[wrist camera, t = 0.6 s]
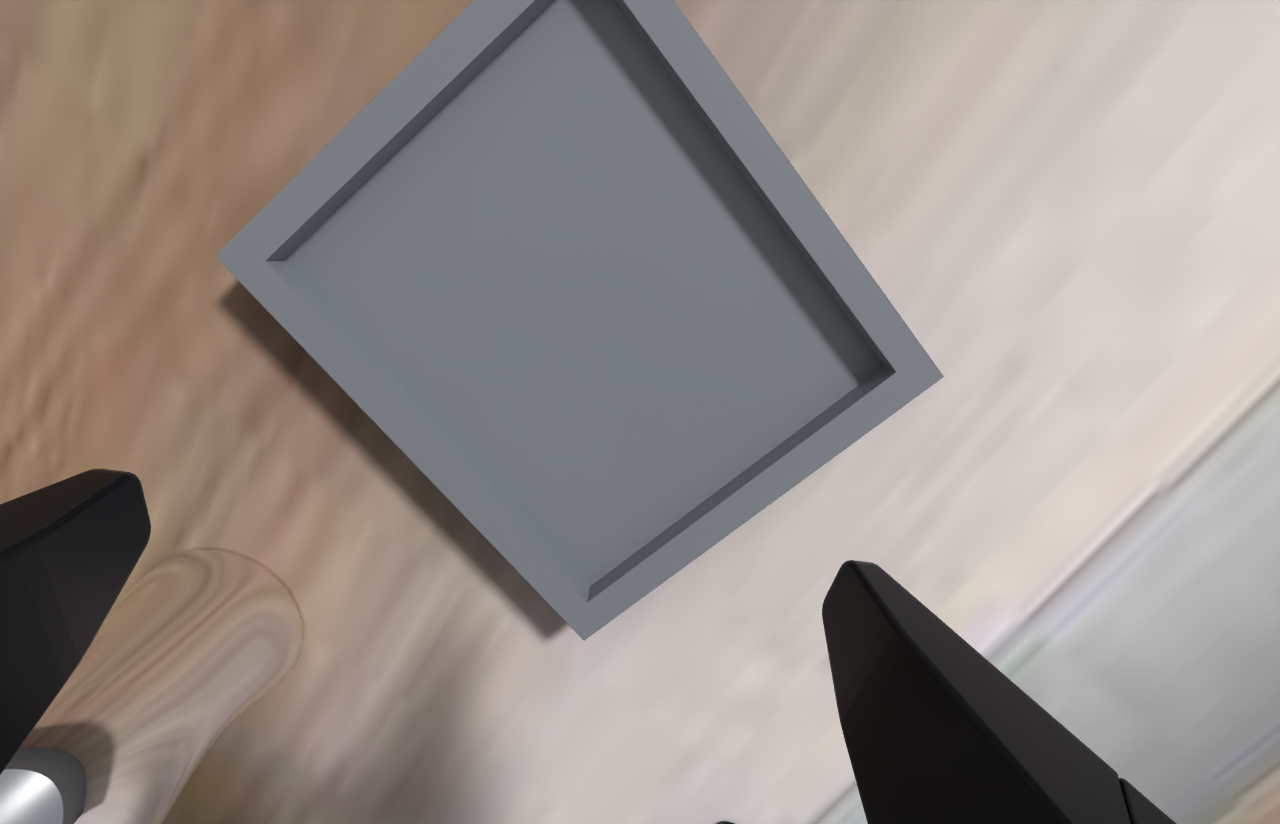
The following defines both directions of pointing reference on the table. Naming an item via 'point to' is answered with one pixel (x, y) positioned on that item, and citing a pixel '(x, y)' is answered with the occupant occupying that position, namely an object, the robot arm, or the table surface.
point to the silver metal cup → (155, 693)
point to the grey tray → (582, 294)
